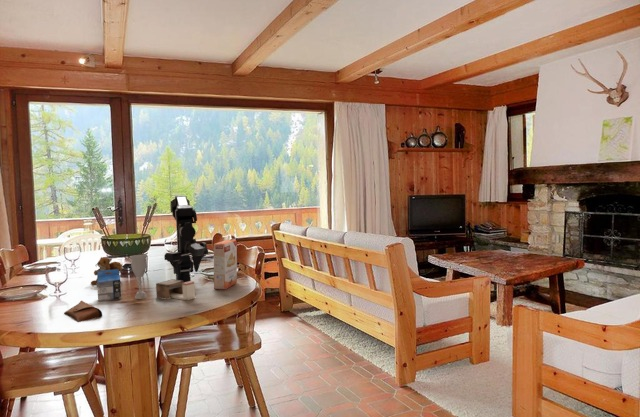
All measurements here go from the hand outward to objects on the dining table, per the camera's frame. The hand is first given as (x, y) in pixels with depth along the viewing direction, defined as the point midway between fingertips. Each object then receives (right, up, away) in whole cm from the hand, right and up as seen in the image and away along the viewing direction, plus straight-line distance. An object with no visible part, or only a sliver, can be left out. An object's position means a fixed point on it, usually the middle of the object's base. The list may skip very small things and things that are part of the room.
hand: (187, 273), depth 189 cm
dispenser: (-10, -11, +7) cm, 16 cm away
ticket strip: (-5, -11, +4) cm, 12 cm away
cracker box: (+11, -9, +22) cm, 26 cm away
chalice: (-22, -11, +5) cm, 25 cm away
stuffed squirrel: (-51, -10, +37) cm, 63 cm away
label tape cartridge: (-35, -12, +4) cm, 37 cm away
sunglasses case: (-35, -14, -18) cm, 41 cm away
